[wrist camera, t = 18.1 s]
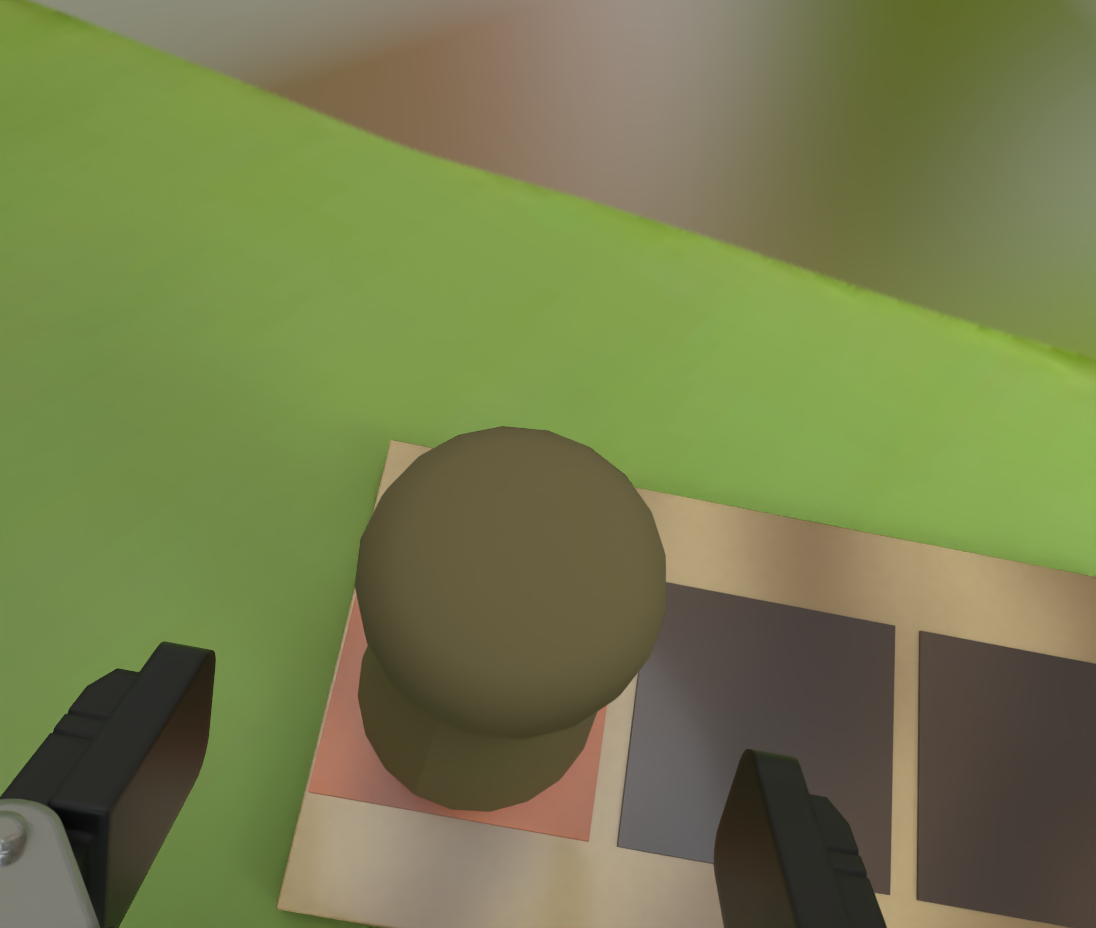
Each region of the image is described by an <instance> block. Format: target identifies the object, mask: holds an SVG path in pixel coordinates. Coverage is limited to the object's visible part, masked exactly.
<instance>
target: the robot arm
mask: <svg viewBox="0 0 1096 928" xmlns="http://www.w3.org/2000/svg"><path fill="white" fill-rule="evenodd" d="M215 662H216V657H215V652H214V651H213V650H209V649H203V648H198V647H192V646H187V645H181V644H176V643H170V642H162V643H160V644H159V646H158V647H157V648H156V650H155V651H154V652H153V654H152V655H151V657H150V658H149V659H148V661H147V662H146V664H145V665H144V666H143V668H142V669H141V671H140V672H134V671H129V670H123V669H118V668H117V669H115V670H114V671H112V672H110V673H109V674H107V675H105V676H103V677H102V678H100V679H98V680H97V681H95V682H93V683H92V684H90V685H88V686H87V687H86V688H85V689H84V691H83V692H82V693H81V694H80V696H79V697H78V698H77V700H76V701H75V702H74V703H73V705H72V706H71V707H70V709H69V711H68V714H65V715H64V716H63V717H62V719H61V720H60V721H59V723H58V724H57V725H56V726H55V728H54V731H53V733H50V734H49V735H48V737H47V738H46V739H45V741H44V742H43V743H42V744H41V746H40V747H39V748H38V749H37V751H36V752H35V753H34V755H33V756H32V757H31V758H30V760H29V761H28V762H27V764H26V765H25V766H24V767H23V769H22V770H21V771H20V773H19V774H18V775H17V776H16V778H15V779H14V780H13V781H12V783H11V784H10V785H9V787H8V788H7V789H6V790H5V792H4V793H3V794H2V796H1V797H0V928H119V926H120V924H121V922H122V920H123V918H124V916H125V914H126V913H127V911H128V909H129V907H130V905H131V903H132V901H133V899H134V897H135V895H136V894H137V892H138V890H139V888H140V886H141V884H142V882H143V880H144V878H145V876H146V875H147V873H148V871H149V869H150V867H151V865H152V863H153V861H154V859H155V857H156V856H157V854H158V852H159V850H160V848H161V846H162V844H163V842H164V840H165V838H166V837H167V835H168V833H169V831H170V829H171V827H172V825H173V823H174V821H175V819H176V817H177V816H178V814H179V812H180V810H181V808H182V806H183V804H184V802H185V800H186V798H187V797H188V795H189V793H190V791H191V789H192V787H193V785H194V783H195V781H196V779H197V777H198V775H199V772H200V769H201V767H202V764H203V760H204V757H205V753H206V749H207V744H208V738H209V728H210V717H211V707H212V696H213V685H214V674H215ZM714 874H715V880H716V885H717V891H718V897H719V902H720V908H721V914H722V919H723V925H724V928H887V926H886V923H885V920H884V918H883V915H882V912H881V909H880V907H879V904H878V901H877V898H876V896H875V893H874V890H873V888H872V885H871V882H870V879H868V878H867V871H866V868H865V866H864V863H863V860H862V857H861V856H859V849H858V847H857V844H856V841H855V838H854V836H853V833H852V830H851V827H850V825H849V823H848V822H847V820H846V819H845V818H844V817H843V816H842V815H841V813H840V812H839V811H838V810H837V809H836V807H835V806H834V805H833V804H832V803H831V801H830V800H829V799H828V798H827V797H823V796H817V795H812V794H809V791H808V788H807V785H806V782H805V779H804V776H803V773H802V770H801V767H800V764H799V761H798V760H797V758H795V757H792V756H786V755H781V754H775V753H769V752H764V751H758V750H753V749H746V750H745V751H744V752H743V754H742V756H741V758H740V761H739V764H738V767H737V770H736V773H735V776H734V779H733V782H732V786H731V789H730V792H729V795H728V798H727V801H726V804H725V807H724V810H723V813H722V816H721V819H720V822H719V826H718V829H717V833H716V838H715V845H714Z"/></svg>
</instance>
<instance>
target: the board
mask: <svg viewBox="0 0 1096 928" xmlns="http://www.w3.org/2000/svg"><path fill="white" fill-rule="evenodd" d="M431 449H433V448H430V447H425V446H420V445H415V444H410V443H405V442H399V441H394V440H391V441H390V444H389V448H388V453H387V457H386V461H385V465H384V469H383V473H382V477H381V481H380V485H379V489H378V493H377V497H376V501H375V506H374V510H373V513H374V511H375V509H376V507H377V505H378V502H379V500H380V498H381V496H382V495H383V494H384V492H385V491H386V490H387V488H388V487H389V486H390V485H391V484H392V483H393V482H394V481H395V480H396V479H397V478H398V477H399V476H400V475H401V474H402V473H403V472H404V471H405V470H406V469H407V468H408V467H409V466H410V465H411V464H412V463H413V462H414V461H415V460H416V459H417V458H418V457H419V456H420V455H422V454H424V453H426V452H428V451H429V450H431ZM634 488H635V489H636V490H637V492H638V493H639V495H640V496H641V497H642V499H643V500H644V502H645V503H646V504H647V506H648V507H649V509H650V510H651V512H652V514H653V517H654V520H655V523H656V527H657V530H658V533H659V536H660V539H661V542H662V545H663V548H664V551H665V554H666V612H665V615H664V618H663V621H662V624H661V627H660V630H659V633H658V636H657V639H656V642H655V645H654V648H653V651H652V653H651V656H650V657H649V659H648V660H647V661H646V663H645V664H644V665H643V666H642V668H641V669H640V670H639V672H638V673H637V674H636V676H635V677H634V678H633V679H632V681H631V682H630V683H629V685H628V686H627V687H626V689H625V690H624V691H623V692H622V694H621V695H620V696H619V697H617V698H616V699H615V700H614V701H613V702H611V703H609V704H608V705H606V706H605V707H603V708H602V709H600V710H599V711H597V714H596V717H595V719H594V722H593V725H592V728H591V731H590V734H589V736H588V739H587V742H586V745H585V748H584V750H583V751H582V752H581V753H580V755H579V756H578V757H577V759H576V760H575V761H574V763H573V764H572V765H571V767H570V768H569V769H568V770H567V772H566V773H565V774H564V776H563V777H562V778H561V779H560V780H559V781H558V782H556V783H555V784H553V785H552V786H550V787H549V788H547V789H546V790H544V791H543V792H541V793H540V794H538V795H537V796H535V797H534V798H532V799H531V800H529V801H528V802H524V803H520V804H517V805H513V806H509V807H506V808H502V809H499V810H495V811H491V812H486V811H469V810H452V809H449V808H446V807H444V806H441V805H439V804H437V803H434V802H432V801H429V800H427V799H424V798H422V797H420V796H417V795H415V794H413V793H412V792H411V791H410V790H409V789H408V788H407V787H405V786H404V785H403V784H402V783H401V782H400V781H399V780H398V779H396V778H395V777H394V776H393V775H392V774H391V773H390V772H388V771H387V770H386V769H385V768H384V766H383V764H382V763H381V761H380V759H379V757H378V756H377V754H376V752H375V750H374V749H373V747H372V745H371V743H370V742H369V740H368V738H367V736H366V735H365V731H364V726H363V721H362V716H361V711H360V706H359V701H358V689H359V680H360V672H361V664H362V657H363V655H364V653H365V650H366V648H367V646H368V644H367V641H366V637H365V633H364V628H363V624H362V619H361V614H360V609H359V604H358V599H357V595H356V590H355V587H354V591H353V595H352V599H351V603H350V608H349V612H348V616H347V620H346V624H345V628H344V632H343V636H342V640H341V644H340V648H339V652H338V657H337V661H336V665H335V669H334V673H333V677H332V681H331V685H330V689H329V693H328V697H327V701H326V705H325V710H324V714H323V718H322V722H321V726H320V730H319V734H318V738H317V742H316V746H315V750H314V754H313V759H312V763H311V767H310V771H309V775H308V779H307V783H306V787H305V791H304V795H303V799H302V803H301V807H300V812H299V816H298V820H297V824H296V828H295V832H294V836H293V840H292V844H291V848H290V852H289V856H288V861H287V865H286V869H285V873H284V877H283V881H282V885H281V889H280V893H279V897H278V901H277V905H276V909H278V910H283V911H288V912H294V913H300V914H306V915H312V916H318V917H323V918H329V919H335V920H341V921H347V922H352V923H358V924H364V925H370V926H376V927H382V928H724V925H723V919H722V914H721V908H720V902H719V897H718V891H717V885H716V880H715V874H714V845H715V838H716V833H717V829H718V826H719V822H720V819H721V816H722V813H723V810H724V807H725V804H726V801H727V798H728V795H729V792H730V789H731V786H732V782H733V779H734V776H735V773H736V770H737V767H738V764H739V761H740V758H741V756H742V754H743V752H744V751H745V750H746V749H753V750H758V751H764V752H769V753H775V754H781V755H786V756H792V757H795V758H797V760H798V761H799V764H800V767H801V770H802V773H803V776H804V779H805V782H806V785H807V788H808V791H809V794H812V795H817V796H823V797H827V798H828V799H829V800H830V801H831V803H832V804H833V805H834V806H835V807H836V809H837V810H838V811H839V812H840V813H841V815H842V816H843V817H844V818H845V819H846V820H847V822H848V823H849V825H850V827H851V830H852V833H853V836H854V838H855V841H856V844H857V847H858V849H859V856H861V857H862V860H863V863H864V866H865V868H866V871H867V878H868V879H870V882H871V885H872V888H873V890H874V893H875V896H876V898H877V901H878V904H879V907H880V909H881V912H882V915H883V918H884V920H885V923H886V926H887V928H1096V577H1093V576H1088V575H1083V574H1078V573H1073V572H1067V571H1062V570H1057V569H1052V568H1047V567H1042V566H1037V565H1031V564H1026V563H1021V562H1016V561H1011V560H1006V559H1001V558H995V557H990V556H985V555H980V554H975V553H970V552H965V551H960V550H954V549H949V548H944V547H939V546H934V545H929V544H924V543H918V542H913V541H908V540H903V539H898V538H893V537H888V536H882V535H877V534H872V533H867V532H862V531H857V530H852V529H846V528H841V527H836V526H831V525H826V524H821V523H816V522H810V521H805V520H800V519H795V518H790V517H785V516H780V515H775V514H769V513H764V512H759V511H754V510H749V509H744V508H739V507H733V506H728V505H723V504H718V503H713V502H708V501H703V500H697V499H692V498H687V497H682V496H677V495H672V494H667V493H661V492H656V491H651V490H646V489H641V488H636V487H634ZM372 515H373V514H372Z"/></svg>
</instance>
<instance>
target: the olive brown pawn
mask: <svg viewBox="0 0 1096 928" xmlns="http://www.w3.org/2000/svg"><path fill="white" fill-rule="evenodd" d="M355 590H356V595H357V599H358V604H359V609H360V614H361V619H362V624H363V628H364V633H365V637H366V641H367V644H368V646H367V648H366V650H365V653H364V655H363V657H362V664H361V672H360V680H359V689H358V701H359V706H360V711H361V716H362V721H363V726H364V731H365V735H366V736H367V738H368V740H369V742H370V743H371V745H372V747H373V749H374V750H375V752H376V754H377V756H378V757H379V759H380V761H381V763H382V764H383V766H384V768H385V769H386V770H387V771H388V772H390V773H391V774H392V775H393V776H394V777H395V778H396V779H398V780H399V781H400V782H401V783H402V784H403V785H404V786H405V787H407V788H408V789H409V790H410V791H411V792H412V793H413V794H415V795H417V796H420V797H422V798H424V799H427V800H429V801H432V802H434V803H437V804H439V805H441V806H444V807H446V808H449V809H452V810H469V811H486V812H491V811H495V810H499V809H502V808H506V807H509V806H513V805H517V804H520V803H524V802H528V801H529V800H531V799H532V798H534V797H535V796H537V795H538V794H540V793H541V792H543V791H544V790H546V789H547V788H549V787H550V786H552V785H553V784H555V783H556V782H558V781H559V780H560V779H561V778H562V777H563V776H564V774H565V773H566V772H567V770H568V769H569V768H570V767H571V765H572V764H573V763H574V761H575V760H576V759H577V757H578V756H579V755H580V753H581V752H582V751H583V750H584V748H585V745H586V742H587V739H588V736H589V734H590V731H591V728H592V725H593V722H594V719H595V717H596V714H597V711H599V710H600V709H602V708H603V707H605V706H606V705H608V704H609V703H611V702H613V701H614V700H615V699H616V698H617V697H619V696H620V695H621V694H622V692H623V691H624V690H625V689H626V687H627V686H628V685H629V683H630V682H631V681H632V679H633V678H634V677H635V676H636V674H637V673H638V672H639V670H640V669H641V668H642V666H643V665H644V664H645V663H646V661H647V660H648V659H649V657H650V656H651V653H652V651H653V648H654V645H655V642H656V639H657V636H658V633H659V630H660V627H661V624H662V621H663V618H664V615H665V612H666V554H665V551H664V548H663V545H662V542H661V539H660V536H659V533H658V530H657V527H656V523H655V520H654V517H653V514H652V512H651V510H650V509H649V507H648V506H647V504H646V503H645V502H644V500H643V499H642V497H641V496H640V495H639V493H638V492H637V490H636V489H635V488H634V486H633V485H632V483H631V482H630V480H629V479H628V478H627V476H626V475H625V474H624V473H622V472H621V471H620V470H619V469H617V468H616V467H615V466H613V465H612V464H611V463H610V462H608V461H607V460H606V459H604V458H603V457H602V456H601V455H599V454H598V453H597V452H595V451H594V450H593V449H592V448H590V447H588V446H586V445H583V444H581V443H578V442H575V441H573V440H570V439H568V438H565V437H563V436H560V435H558V434H555V433H553V432H550V431H547V430H536V429H526V428H515V427H505V426H502V427H497V428H492V429H487V430H482V431H476V432H471V433H466V434H461V435H458V436H456V437H454V438H452V439H450V440H448V441H446V442H445V443H443V444H441V445H439V446H437V447H435V448H433V449H431V450H429V451H428V452H426V453H424V454H422V455H420V456H419V457H418V458H417V459H416V460H415V461H414V462H413V463H412V464H411V465H410V466H409V467H408V468H407V469H406V470H405V471H404V472H403V473H402V474H401V475H400V476H399V477H398V478H397V479H396V480H395V481H394V482H393V483H392V484H391V485H390V486H389V487H388V488H387V490H386V491H385V492H384V494H383V495H382V496H381V498H380V500H379V502H378V505H377V507H376V509H375V511H374V513H373V515H372V517H371V519H370V521H369V523H368V525H367V527H366V529H365V531H364V533H363V535H362V537H361V541H360V549H359V557H358V565H357V573H356V580H355Z"/></svg>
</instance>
